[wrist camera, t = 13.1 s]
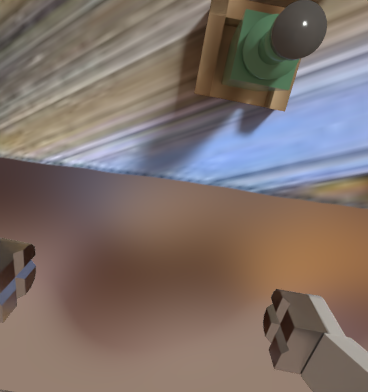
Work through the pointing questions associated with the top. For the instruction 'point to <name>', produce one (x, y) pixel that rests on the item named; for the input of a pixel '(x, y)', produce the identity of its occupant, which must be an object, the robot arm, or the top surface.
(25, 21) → the top surface
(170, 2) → the top surface
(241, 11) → the oak rest
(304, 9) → the green bottle
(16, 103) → the top surface
